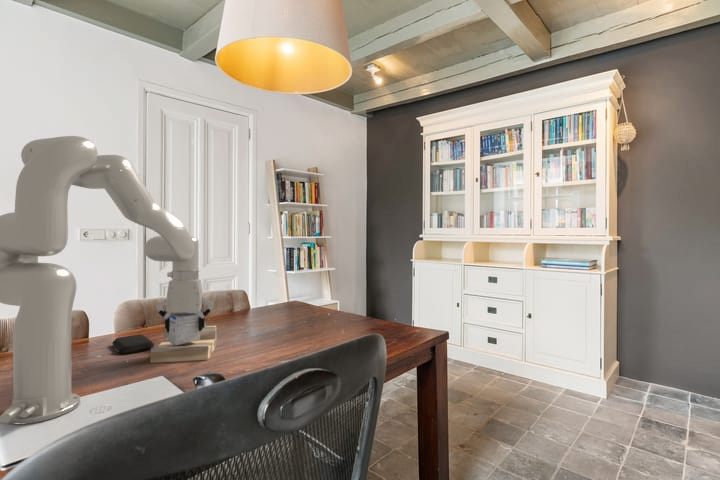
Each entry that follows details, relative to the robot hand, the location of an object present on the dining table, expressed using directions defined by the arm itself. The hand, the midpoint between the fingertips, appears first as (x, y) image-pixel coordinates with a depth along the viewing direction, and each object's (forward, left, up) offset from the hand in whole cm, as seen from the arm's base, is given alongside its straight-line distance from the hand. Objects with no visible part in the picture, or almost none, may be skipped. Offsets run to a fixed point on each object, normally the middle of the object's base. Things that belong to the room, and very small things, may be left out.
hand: (185, 330), depth 118 cm
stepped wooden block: (0, 0, -7) cm, 7 cm away
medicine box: (0, 0, -4) cm, 4 cm away
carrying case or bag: (+10, +19, -8) cm, 23 cm away
